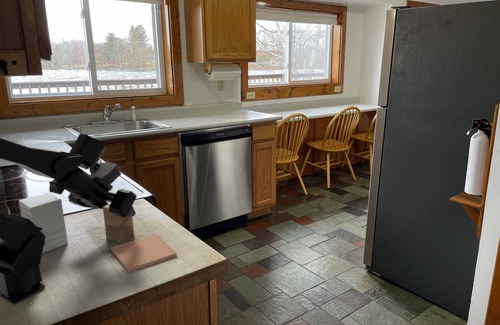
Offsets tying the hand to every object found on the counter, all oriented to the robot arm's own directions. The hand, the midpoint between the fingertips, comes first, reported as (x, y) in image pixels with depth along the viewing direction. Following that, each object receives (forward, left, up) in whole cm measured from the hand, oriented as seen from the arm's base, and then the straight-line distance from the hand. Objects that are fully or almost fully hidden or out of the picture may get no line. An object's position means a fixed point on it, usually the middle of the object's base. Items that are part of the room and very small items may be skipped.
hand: (121, 210), depth 98 cm
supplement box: (-14, +12, -7) cm, 20 cm away
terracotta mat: (-4, -12, -7) cm, 15 cm away
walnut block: (-1, 0, -7) cm, 7 cm away
